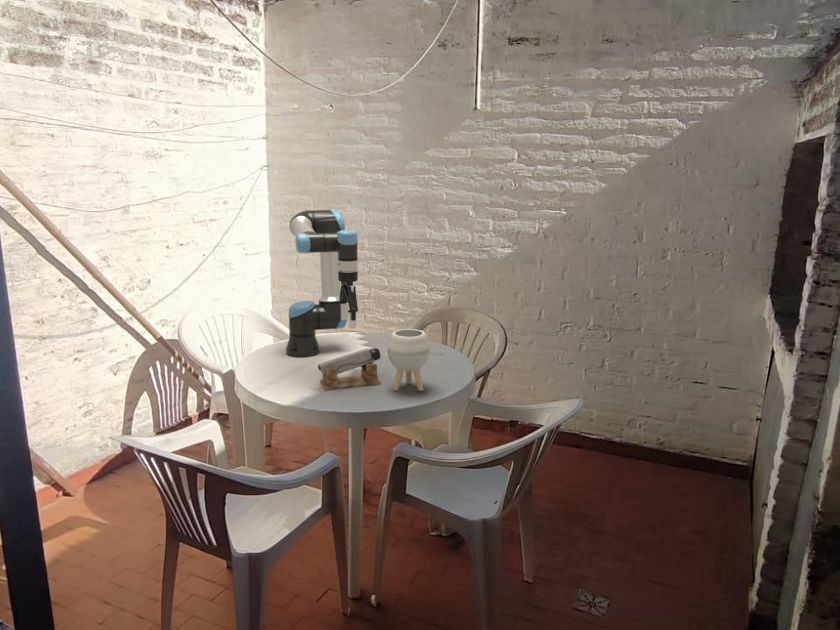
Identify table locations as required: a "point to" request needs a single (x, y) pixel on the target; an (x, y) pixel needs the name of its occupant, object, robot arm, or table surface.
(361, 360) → the gun
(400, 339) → the planter
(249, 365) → the table surface
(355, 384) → the display stand
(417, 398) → the table surface
